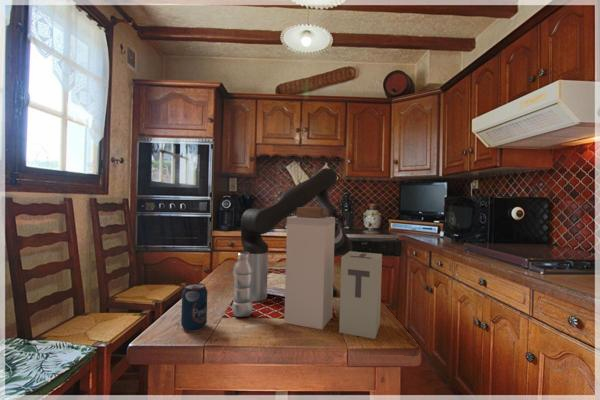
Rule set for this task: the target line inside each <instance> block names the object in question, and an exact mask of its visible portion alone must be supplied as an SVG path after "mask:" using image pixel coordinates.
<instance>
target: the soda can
mask: <svg viewBox="0 0 600 400" xmlns="http://www.w3.org/2000/svg"><path fill="white" fill-rule="evenodd" d="M183 287H184V288H183V290H182V292H181V322H180V324H181V325H180V326H181V327H182V328H183V330H184V331H185V332H189V333H190V332H192V333H193V332H199V331H201V330H202V329H204V328H205V327H206V325H207V322H208V320H207V319H208V289H207V287H206V284H204V283H200V282H193V283H188V284H185V285H184V286H183Z"/></svg>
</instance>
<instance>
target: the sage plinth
mask: <svg viewBox="0 0 600 400" xmlns="http://www.w3.org/2000/svg"><path fill="white" fill-rule="evenodd" d="M340 257H341V262H340V266H341V267H340V293H339V294H340V297H339V323H338V324H339V325H338V327H339V328H338V330H339V332H338V333H340V334H345V335H351V336H355V337H361V338H367V339H373V340H376V338H377V335H378V332H379V328H380V325H381V304H382V303H381V301H382V300H381V299H382V267H383V266H382V265H383V254H382V253H376V252H375V253H372V252H361V251H360V252H359V251H353V250H352V251H349V252H348V253H347V254H344V255H341V256H340Z"/></svg>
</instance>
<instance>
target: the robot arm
mask: <svg viewBox="0 0 600 400" xmlns="http://www.w3.org/2000/svg"><path fill="white" fill-rule="evenodd" d="M337 182H338V175H337V173H336V171H335V170H333V169H332V168H330V167H329V168H328V167H326V168H321V169H320V170H319V171H318V172H317V173H316V174H315V175H313V176H312V177H310V178H308V179H306V180H303V181H302V182H300V183H298V184H296V185H293V186H292V187H289V188H288V189H287V190H285V191H284V192H283V193H282V194H281V195H280V197H279V198H278V200H277V202H276V203H274V204H272V205H270V206H268V207H266V208H247V209H246V210H245V211H244V212H243V214H242V215H241V220H240V243H241V246H242V249H243V250H242V252H249V253H250V255H249V257H250V259H249V261H250V263H251V264H252V266H253V277H252V285H251V298H252V302H262V301H265V300H267V297H268V277H269V276H268V270H269V245H268V243H267V242H266V241H265V240H264V239H263V237H262V235H264V234H267V233H270V232H271V231H272V230H273V229H274V228H275V227H277V225H278V226H279V224H280V223H281V222H282V221H283V220H285V219H287V217H291V215H293V214H294V213H295V212H297V207H306V205H307V204H309V203H310V202H311V201H313V199H314V198H315V197H316V199H317V200H316V201H317V202H318V204H319V208H326V210H329V215H328V216H325V217H335V237H334V258H335V257H339V256H340V257H341V256H344V255H345V254H347V253H348V252H349V251H352V252H353V244H352V242H351V240H350V237H348V235H347V233H346V231H345V229H344V228H346V225H347V218H346V215H345V213H341V214H340V212H339V211H338V209H337V207H335V205H334V204H333V203H332V202H331V200H330V198H329V194H328V191H330V189H332V188H333V187H334V186H335V185H336V183H337Z"/></svg>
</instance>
